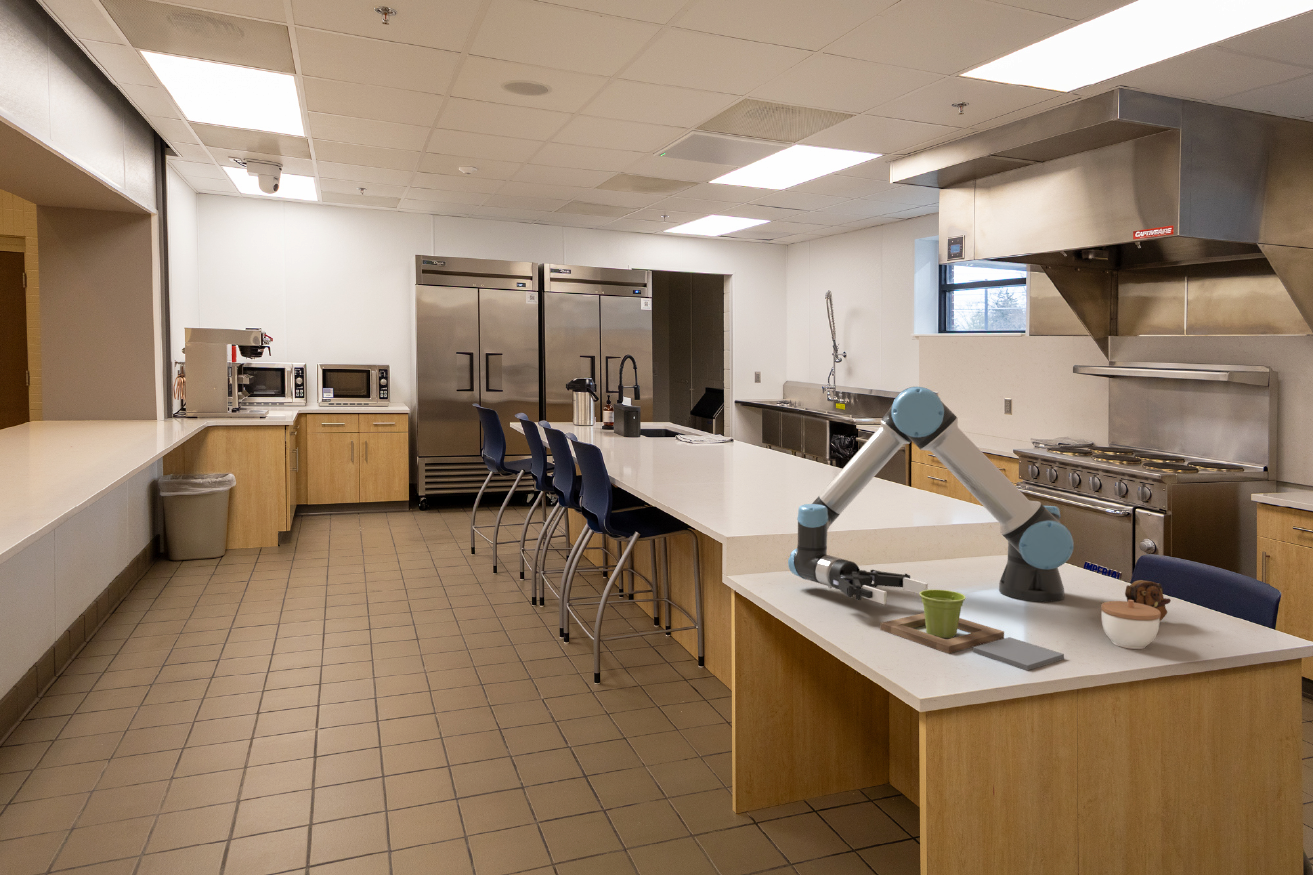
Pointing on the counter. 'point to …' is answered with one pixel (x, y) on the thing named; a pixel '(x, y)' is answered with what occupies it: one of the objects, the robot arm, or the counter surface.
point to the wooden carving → (1148, 595)
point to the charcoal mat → (1018, 653)
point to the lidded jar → (1130, 623)
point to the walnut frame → (975, 638)
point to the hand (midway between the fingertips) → (906, 593)
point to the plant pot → (942, 611)
